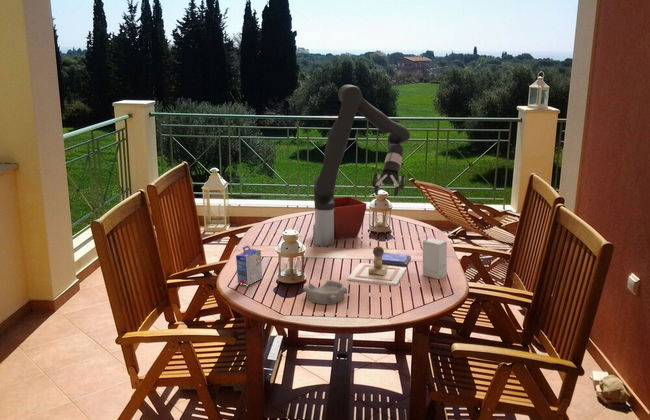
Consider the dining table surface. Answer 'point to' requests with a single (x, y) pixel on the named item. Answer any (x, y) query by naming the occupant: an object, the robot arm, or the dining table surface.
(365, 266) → the marked board
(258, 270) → the ink cartridge box
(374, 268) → the rubber stamp
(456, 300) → the dining table surface
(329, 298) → the dish
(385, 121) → the robot arm
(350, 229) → the plant pot
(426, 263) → the skincare box
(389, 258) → the ink pad
